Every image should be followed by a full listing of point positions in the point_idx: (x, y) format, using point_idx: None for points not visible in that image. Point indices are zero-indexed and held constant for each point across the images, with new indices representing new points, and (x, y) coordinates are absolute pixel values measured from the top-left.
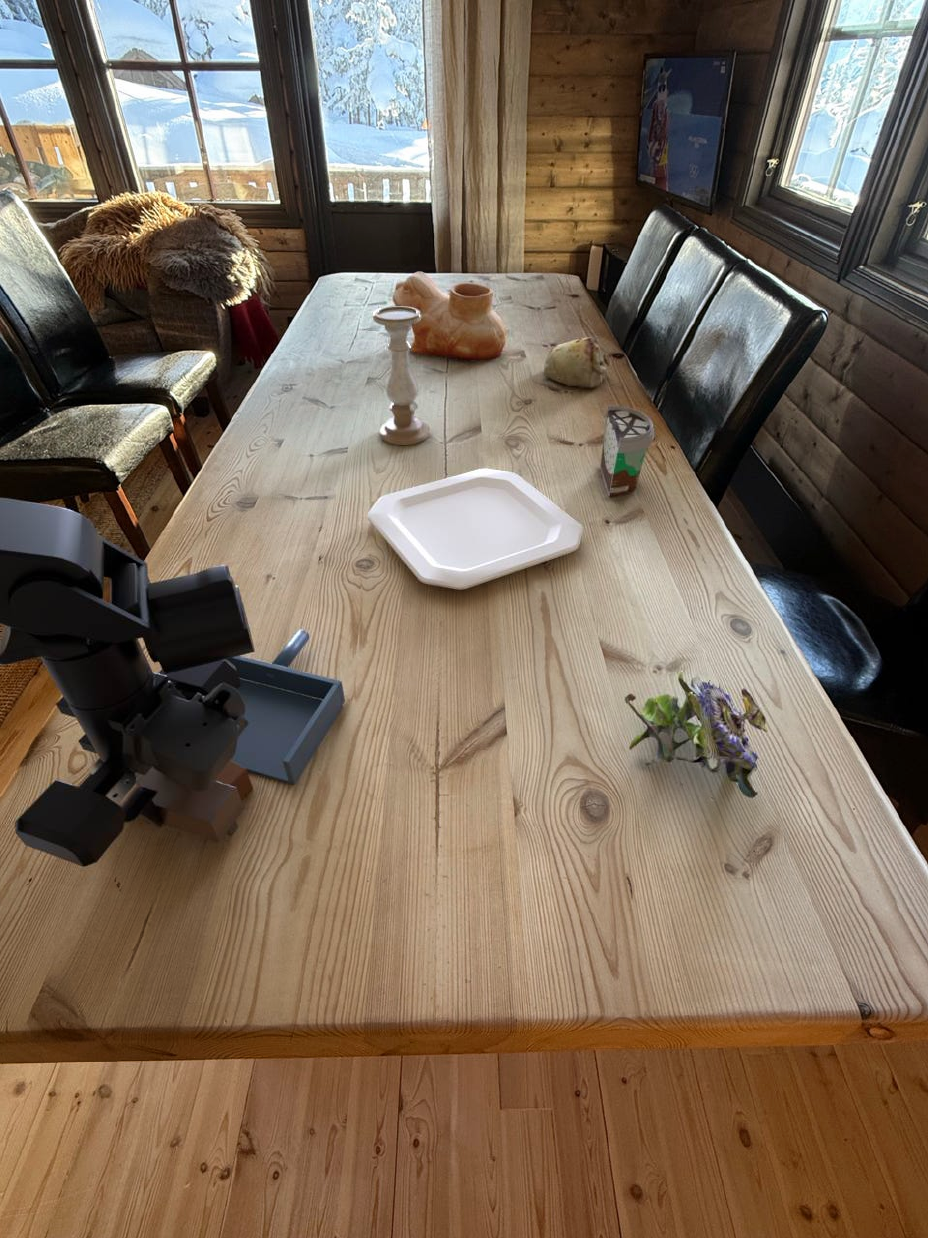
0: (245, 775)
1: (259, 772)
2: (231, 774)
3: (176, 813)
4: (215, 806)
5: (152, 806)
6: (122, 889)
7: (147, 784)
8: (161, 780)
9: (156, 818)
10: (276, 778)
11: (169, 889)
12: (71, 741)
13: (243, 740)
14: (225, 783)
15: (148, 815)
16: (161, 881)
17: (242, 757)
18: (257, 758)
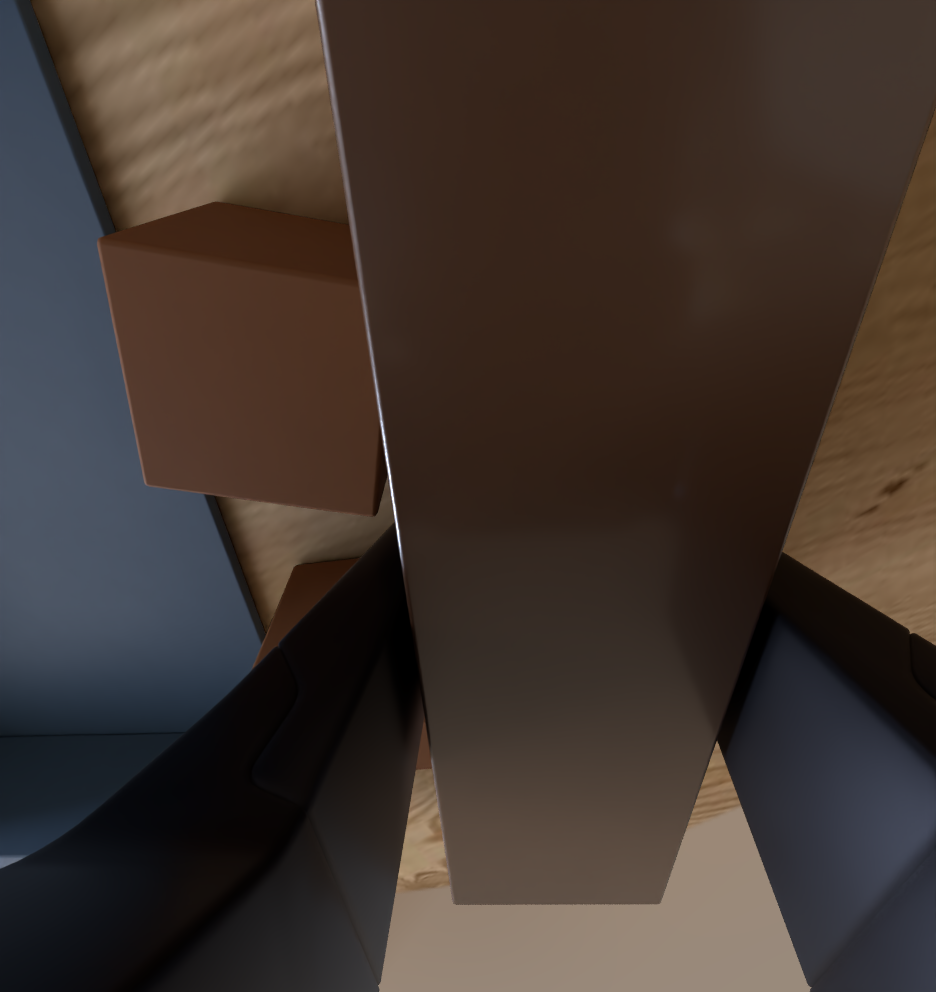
0: (153, 230)
1: (102, 231)
2: (213, 325)
3: (801, 466)
4: (686, 94)
5: (873, 676)
6: (918, 461)
7: (597, 748)
8: (542, 706)
9: None
10: (49, 73)
11: (931, 254)
12: (416, 854)
13: (32, 453)
14: (302, 317)
15: (905, 641)
16: (880, 326)
17: (106, 395)
18: (46, 310)
